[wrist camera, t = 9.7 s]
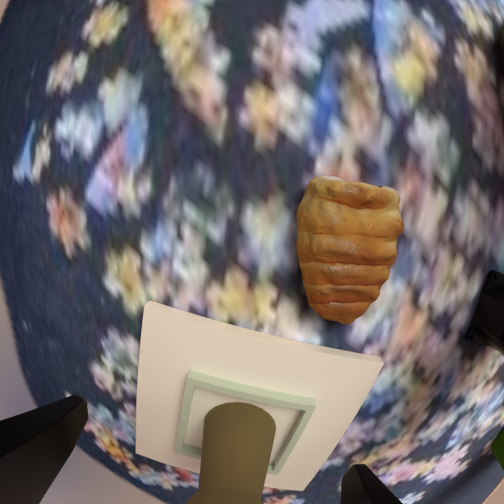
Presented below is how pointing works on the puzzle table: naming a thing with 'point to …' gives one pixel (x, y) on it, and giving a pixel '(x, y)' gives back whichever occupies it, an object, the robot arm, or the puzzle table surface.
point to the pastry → (346, 244)
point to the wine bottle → (499, 448)
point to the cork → (234, 454)
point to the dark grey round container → (502, 46)
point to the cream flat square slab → (244, 391)
